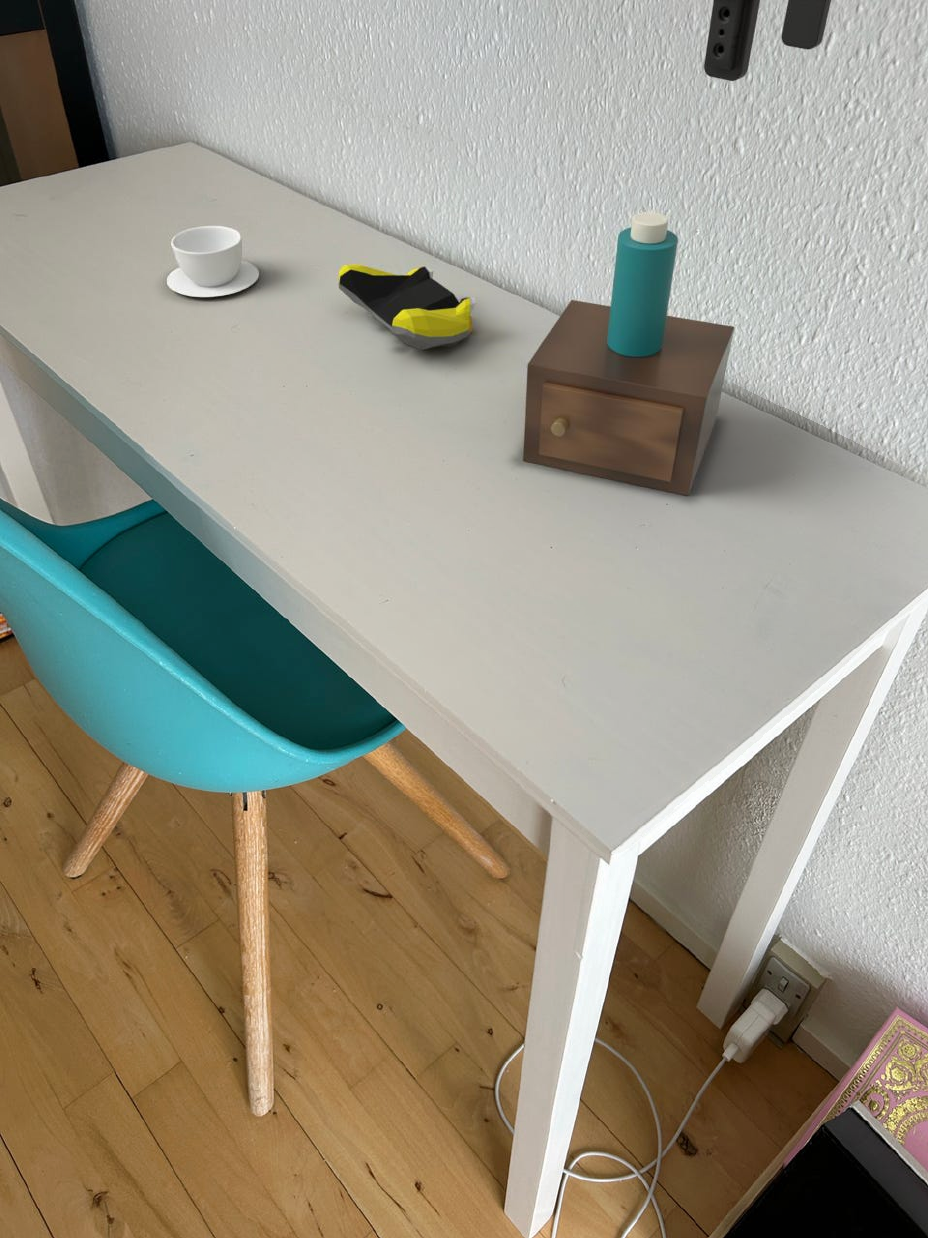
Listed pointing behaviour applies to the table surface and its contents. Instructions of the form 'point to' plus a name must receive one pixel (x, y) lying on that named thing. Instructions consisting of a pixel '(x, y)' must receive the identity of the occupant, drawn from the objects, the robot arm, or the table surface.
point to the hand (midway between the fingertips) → (763, 60)
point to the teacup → (210, 263)
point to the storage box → (624, 400)
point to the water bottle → (641, 286)
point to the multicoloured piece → (410, 304)
